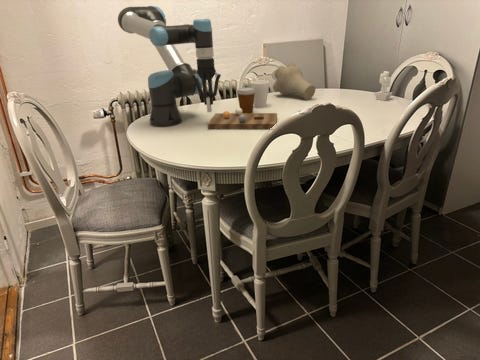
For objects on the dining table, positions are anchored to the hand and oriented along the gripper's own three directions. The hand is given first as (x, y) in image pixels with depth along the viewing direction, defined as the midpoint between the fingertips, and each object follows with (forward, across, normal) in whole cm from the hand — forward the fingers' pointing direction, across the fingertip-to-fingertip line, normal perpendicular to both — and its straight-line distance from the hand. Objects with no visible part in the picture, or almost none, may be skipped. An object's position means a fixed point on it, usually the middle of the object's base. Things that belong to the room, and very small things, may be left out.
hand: (209, 111), depth 163 cm
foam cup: (+6, +21, +33) cm, 40 cm away
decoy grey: (+2, +16, -6) cm, 17 cm away
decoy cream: (+2, +13, +6) cm, 14 cm away
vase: (+6, +40, +54) cm, 68 cm away
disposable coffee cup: (+6, +15, +20) cm, 26 cm away
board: (+6, +16, 0) cm, 17 cm away
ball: (+2, +8, 0) cm, 8 cm away
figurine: (+6, +88, +47) cm, 100 cm away
